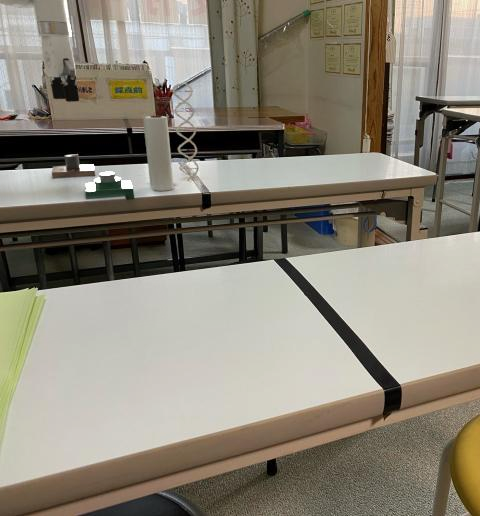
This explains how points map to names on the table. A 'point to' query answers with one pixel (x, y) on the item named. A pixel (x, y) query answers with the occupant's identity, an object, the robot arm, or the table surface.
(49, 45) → the robot arm
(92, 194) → the green stepped block
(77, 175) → the warmer panel
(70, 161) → the dial
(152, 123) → the paper towel roll
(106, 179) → the button
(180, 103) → the dna model
